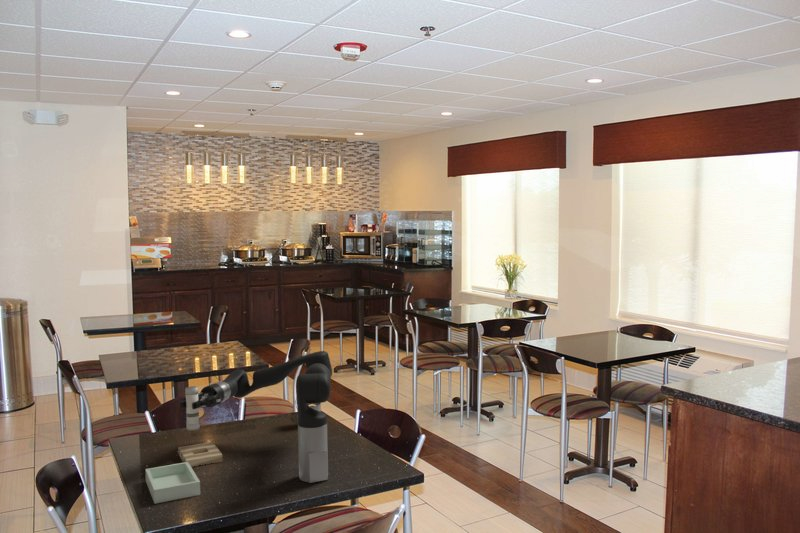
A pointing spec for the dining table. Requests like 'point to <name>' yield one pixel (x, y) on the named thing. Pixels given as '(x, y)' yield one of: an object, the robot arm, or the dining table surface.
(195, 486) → the parts tray
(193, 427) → the fuse
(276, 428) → the dining table surface
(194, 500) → the dining table surface
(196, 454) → the fuse holder
